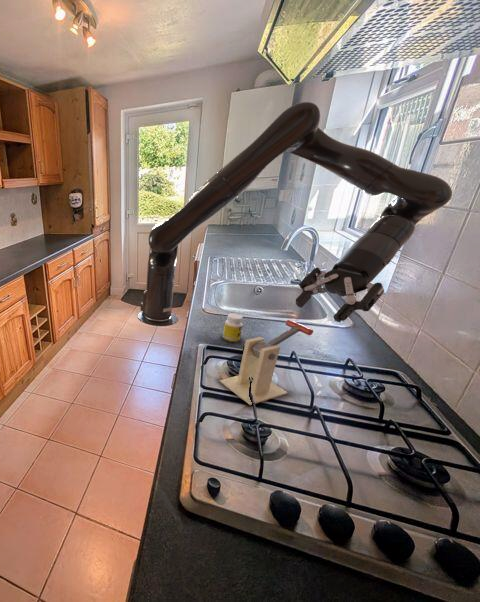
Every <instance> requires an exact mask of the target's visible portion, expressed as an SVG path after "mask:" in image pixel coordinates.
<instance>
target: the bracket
mask: <svg viewBox="0 0 480 602" xmlns="http://www.w3.org/2000/svg"><path fill="white" fill-rule="evenodd" d="M260 342H263V343H265V338H264V337H262V336H258V337H254V338H249V339H245V342H244V348H243V353H242V357H241V361H240V367H239V372H238V375H235V376H231V377H227V378H223V379H220V380H219V382H220V383H221V384H222V385H224V386H225V387H226V388H227V389H229V390H230V391H231V392H232V393H234V394H235V395H236V396H237V397H239V398H240V399H241V400H243V401H244V402H245V403H247V405H249V406H253V405H252V402H251V400H250V397H249V387H250V380H249V377H250V375H251V377H252V378H253V380H252V383H251V390H252V391H251V393H252V395H253V397H254V400H255V404H254V405H256V404H259V403H262V402H266V401H268V400H269V401H270V400H271V399H275V398H278V397H282V396H284V395H287V394H288V391H286V390H285V389H283V388H281V386H279V385H277V384H276V383H274V382H273V377H274V373H275V368H276V366H277V361H278V357H279V354H280V349H281V346H279V345H275V346H271V347H267V348H263V349H261V352H260V356H259V358H257V357H255V356H254V355H253V353H252V347H253V346H255V345H256V344H258V343H260Z"/></svg>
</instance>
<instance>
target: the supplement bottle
mask: <svg viewBox="0 0 480 602" xmlns="http://www.w3.org/2000/svg"><path fill="white" fill-rule="evenodd" d="M242 322H243V316H242V315H241V314H238V313H229V314H228V315H227V320H225V322H224V328H223V334H222V339H223V340H224V341H227V342H231V343H237V342H240V341H241V335H242V332H243V331H242V330H243V326H244V325H243V323H242Z"/></svg>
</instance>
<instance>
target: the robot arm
mask: <svg viewBox="0 0 480 602" xmlns="http://www.w3.org/2000/svg"><path fill="white" fill-rule="evenodd" d="M320 122H321V110H320V108H319V107H318V105H317V104H316V103H314V102H310V101H303V102H298V103H295V104H293V105H291V106H290V107H288V108H286V109H285V110H284V111H282V112H281V113H280V115H278V116H277V118H275V119H274V120H273V122H271V123H270V125H269V126H267V128H265V130H264V131H263V132H262V133H261V134H260V135H259V136H258V137H257V138H256V139H255V140H253V142H252V143H251V144H249V145H248V146H247V147H246V148H245V149H243V150H242V151H241V152H239V154H237V155H235V157H233V158H232V160H230V161H229V162H228V163H227V164H225V165H224V166H223V167H222V168H220V169H219V170H218V171H216V173H215V174H214V175H212V176H210V178H209V179H208V180H207V181H205V183H203V185H201V186H200V187H199V188H198V189H197V190H196V191H195V193H193V195H192V196H191V197H190V198H189V199H188V200H187V201H186V203H185V204H184V205H183V206H182V207H181V208H180V209H179V210H177V211H176V212H175V213H173V215H171V216H170V217H169V218H167V219H166V220H164V221H161V222H158V223H157V224H155V226H153V227H152V229H151V231H150V232H149V234H148V246H149V250H148V252H149V253H148V260H147V268H146V269H147V270H146V286H145V287H146V288H145V290H144V291H143V296H142V302H141V303H140V312H141V311H142V316H144V317H145V318H146V319H147V320H149V321H153V322H167V321H169V320H170V319H171V312H173V311H172V310H173V300H174V291H175V290H174V289H175V280H176V271H177V270H176V269H177V260H178V250H179V244H181V243H182V241H183V240H185V239H186V238H187V237H188V236H189V235H190V234H191V233H192V232H193V231H194V230H195V229H197V228H198V227H200V225H202V224H203V223H205V222H206V221H208V220H209V219H211V218H212V217H214V216H215V215H216V214H218V213H219V212H221V211H222V210H224V208H226V207H227V206H229V205H230V204H232V203H233V202H235V200H236V199H238V197H240V196H241V195H242V194H243V193H244V192H246V190H247V189H248V188H249V187H251V185H252V184H253V183H254V182H255V180H256V179H257V178H258V177H259V176H260V175H261V173H262V172H263V171H265V169H266V168H267V167H268V166H269V165H270V164H271V163H272V162H273V161H275V160H276V159H277V158H279V157H280V156H281V155H282V154H284V153H285V152H286V153H289V154H292V155H294V156H296V157H299V158H302V159H305V160H306V161H309V162H311V163H313V164H316V165H317V166H319V167H321V168H323V169H326V170H327V171H329V172H331V173H332V174H334V175H336V176H338V177H340V178H341V179H342V180H344V181H346V182H347V183H349V184H350V185H353V186H354V187H355V188H357V189H358V190H360V191H362V192H363V193H364V194H367V195H369V196H371V197H378V196H381V195H383V194H390V195H393V196H395V197H394V198H393V199H392V200H391V201H390V202H389V203H388V204H387V205H386V207H385V208H384V209H383V211H382V212H381V213H380V215H379V216H378V218H377V220H376V221H375V222H374V223H373V224H372V225H371V226H369V228H368V229H367V230H366V231H365V232H364V233H363V235H361V237H359V238H358V239H357V240H356V241H355V242H353V243H352V245H350V247H349V248H348V249H347V250H346V251H345V253H343V254H342V256H341V257H339V259H338V260H337V261H336V262H335V263H334V265H333V267H332V268H331V269H330V270H329V271H323V270H321V268H320V267H315V268H313V270H311V271H310V272H309V273H308V274H307V275H306V276H305V277H304V278H303V279H302V280H301V281H300V282H299V283H298V286H299V288H300V289H301V293H300V294H299V295H298V296H297V298H296V299H295V305H296V306H297V308H300V309H301V308H303V307H304V306H305V305H306V304H307V303H308V302H309V300H311V298H312V297H313V296H315V295H317V294H326V293H327V292H328V293H329V294H333V295H338V296H340V297H343V298H344V297H346V299H347V303H344V304H342V306H341V307H340V308H339V309H338V310H337V311H336V312H335V313H334V315H333V317H332V318H333V320H334V321H335V322H337V323H341V322H344V321H346V320H347V319H348V318H349V317H350V316H351V315H352V314H353V312H355V311H358V310H359V311H362V312H369V311H370V310H371V309H372V308H373V306H374V305H375V304H376V303H377V302H378V300H379V299H380V298H381V297H382V296H383V294H384V293H385V289H384V286H383V284H382V283H381V282H375V283H372V282H373V280H375V278H376V277H377V276H378V275H379V274H380V273H381V272H382V271H383V270H384V269H385V268H386V266H388V265H389V264H390V263H391V261H392V260H393V259H394V258H395V257H396V254H397V253H398V252H399V250H400V249H401V248H402V247H404V245H405V244H406V243H407V242H408V241H409V240H410V238H411V237H412V236H413V235H414V233H415V231H416V225H417V224H418V223H419V222H420V221H422V220H423V219H424V218H425V217H427V216H429V215H430V214H432V213H434V212H435V211H437V210H439V209H441V208H442V207H444V206H445V205H447V204H448V203H449V202H450V200H451V199H452V198H453V190H452V187H451V186H450V184H449V182H447V181H445V180H444V179H442V178H441V177H438V176H435V175H432V174H429V173H425V172H422V171H421V172H420V171H417V170H414V169H410V168H405V167H401V166H399V165H397V164H396V163H393V162H392V161H391V160H389V159H386V158H385V157H383V156H381V155H379V154H378V153H375V152H374V151H371V150H369V149H365V148H362V147H358V146H355V145H351V144H347V143H344V142H341V141H339V140H337V139H335V138H333V137H331V136H329V135H328V134H327V133H326V132H324V131H323V130H322V129H321V128H320V127H319V125H320ZM362 291H367V293H366V294H365V295H364V296H363V297H362V298H361V300H358V296H357V293H361V292H362Z"/></svg>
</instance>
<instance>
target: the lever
mask: <svg viewBox="0 0 480 602" xmlns="http://www.w3.org/2000/svg"><path fill="white" fill-rule="evenodd" d="M285 326H287V327H289V329H287V330H285V331H284V332H281V334H278V336H276V337H274V338H273V339H271V340H269V341H268V342H266V343H265V342H260V343H258V344H256V345H255V346H253V347H252V353H253V355H254V356H255V357H257V358H259V356H260V352H261V349H263V348H267V347H271V346H275V345H277V346H279V345H280V344H281V343H283V342H284V341H286V340H287V339H289V338H290V337H292V336H294V335H296V334H297V333H299V332H301V333H303V334H304V335H306V336H312V335H313V333H314V329H313V328H310V327H307V326H305V325H303V324H300V323H298V322H295V321H293V320H291V319H288V320H286V321H285Z"/></svg>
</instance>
